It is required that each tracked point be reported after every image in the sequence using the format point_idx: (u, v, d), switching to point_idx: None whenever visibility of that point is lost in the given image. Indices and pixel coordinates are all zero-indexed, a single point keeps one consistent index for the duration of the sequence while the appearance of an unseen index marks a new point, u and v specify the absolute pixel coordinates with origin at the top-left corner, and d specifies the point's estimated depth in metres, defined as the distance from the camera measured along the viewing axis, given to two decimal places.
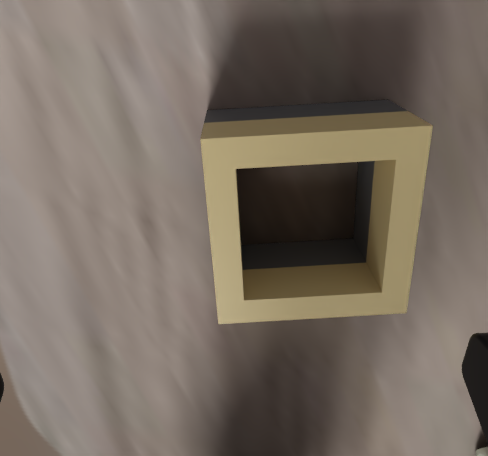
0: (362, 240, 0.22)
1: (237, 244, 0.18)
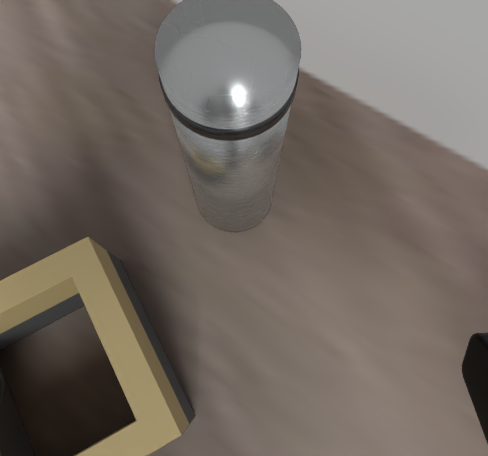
0: None
1: None
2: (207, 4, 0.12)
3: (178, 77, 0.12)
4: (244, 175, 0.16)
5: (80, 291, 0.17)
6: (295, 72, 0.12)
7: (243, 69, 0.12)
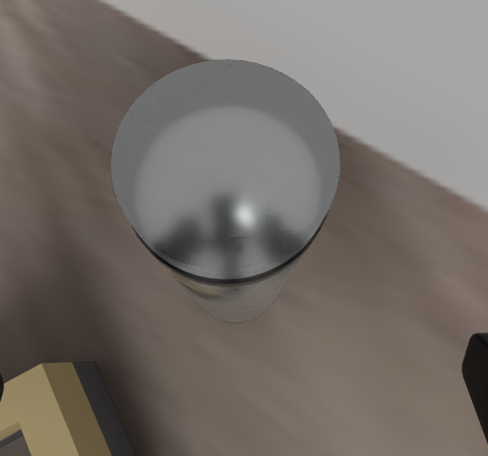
0: None
1: None
2: (194, 86, 0.08)
3: (147, 208, 0.07)
4: (250, 299, 0.11)
5: (29, 442, 0.13)
6: (332, 199, 0.08)
7: (250, 194, 0.07)
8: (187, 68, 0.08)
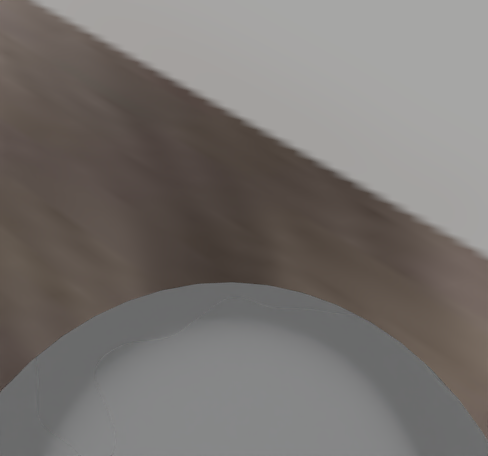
0: None
1: None
2: (143, 364, 0.03)
3: None
4: None
5: None
6: None
7: None
8: (128, 301, 0.03)
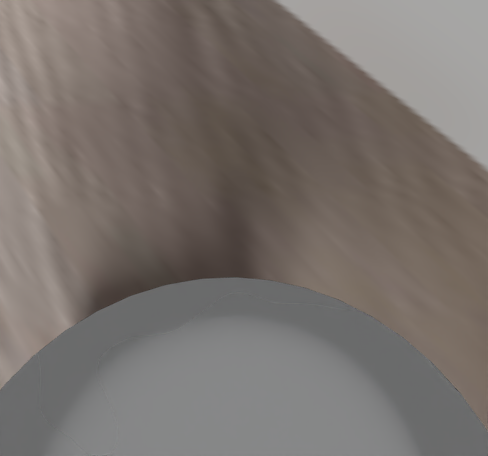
0: None
1: None
2: (146, 359, 0.03)
3: None
4: None
5: None
6: None
7: None
8: (130, 297, 0.03)
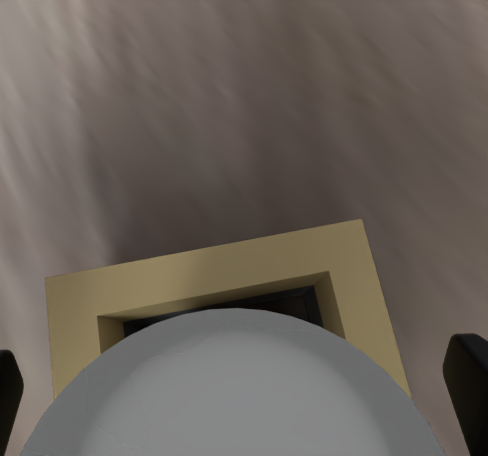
0: None
1: None
2: (169, 372, 0.04)
3: None
4: None
5: (337, 296, 0.11)
6: None
7: None
8: (155, 324, 0.04)
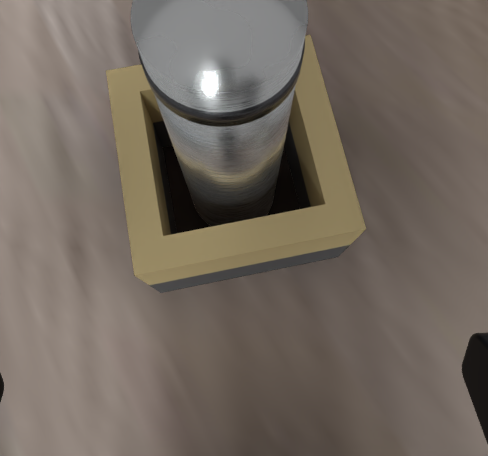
0: None
1: (148, 166, 0.16)
2: None
3: (159, 49, 0.10)
4: (243, 168, 0.14)
5: None
6: (301, 41, 0.10)
7: (238, 38, 0.10)
8: None
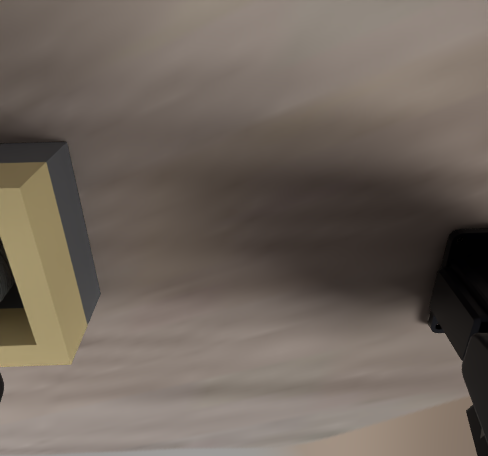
0: None
1: None
2: None
3: None
4: None
5: None
6: None
7: None
8: None
